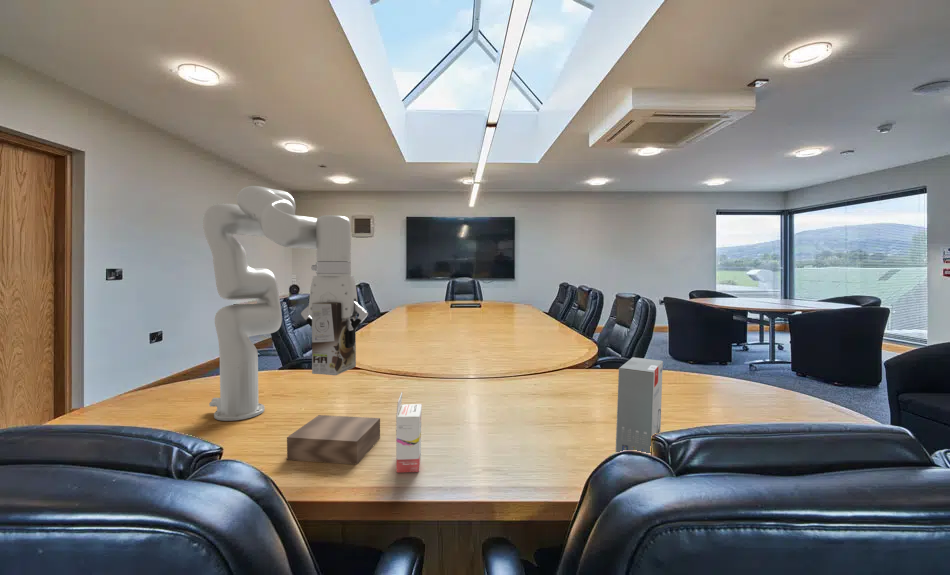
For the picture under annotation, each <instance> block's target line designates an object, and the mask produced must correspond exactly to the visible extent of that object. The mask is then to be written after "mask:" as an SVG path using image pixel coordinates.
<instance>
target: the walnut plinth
mask: <svg viewBox="0 0 950 575" xmlns="http://www.w3.org/2000/svg"><path fill="white" fill-rule="evenodd" d="M380 439H381V418H380V417H367V416H366V417H365V416H364V417H362V416H347V415H346V416H345V415H328V414H327V415H326V414H324V415H323V414H319V415H317V416H316V417H314V418H313V419H311V420H310V421H308V422H307V423H305V424H304V425H303V426H301V427H300V428H298V429H297V430H295V431H294V432H293V433H291V434H290V435H288V436H287V437H286V458H287V460H288V461H300V462H317V463H331V464H332V463H333V464H346V465H347V464H348V465H358V464H359V463H360V462H361V461H362V459H363V458H364V457H365V456H366V455H367V454H368V452H369V451H370V450H371V449H372V448H373V447H374V446H375V444H377V442H378V441H380ZM373 445H374V446H373Z"/></svg>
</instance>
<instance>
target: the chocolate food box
mask: <svg viewBox="0 0 950 575" xmlns="http://www.w3.org/2000/svg"><path fill="white" fill-rule="evenodd" d="M356 317H357V316H355V317H353V318H354V320H356V319H357V318H356ZM356 330H357V329H355V344H354V346H353V347H351V348H346V342H345V332H346V331H347V326H346V324H345V319H344V320H342V318H341V303H338V302H324V303H312V328H311V374H313V375H324V376H325V375H327V376H338V375H340V374H343V373H344V372H347V371H349V370H352V369H354V368H355V367H356V366H357V360H356V358H357V356H356V355H357V347H356V346H357V343H356V341H357V340H356V339H357V338H356V336H357V335H356V334H357V333H356V332H357V331H356Z"/></svg>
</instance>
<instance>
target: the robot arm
mask: <svg viewBox="0 0 950 575" xmlns="http://www.w3.org/2000/svg"><path fill="white" fill-rule="evenodd" d="M236 203H237V204H235V203H223V202H222V203H215V204H211V205H209V206H208V207H207V208H206V210H205V211H204V213H203V216H202V217H203V218H202V228H203V229H202V230H203V234H204V236H205V240H206V241H207V243H208V246H209V249H210V251H211V255H212V262H213V269H214V277H215V278H214V279H215V285H216V291H217V293H218V296H220V298H221V299H223V300H227V301H240V300H241V301H243V300H244V301H245V300H255V301H256V303H239V304H237V303H236V304H230V305H225V306H223V307H222V308H220V309H218V310H217V312H216V313H215V315H214V326H215V330H216V331H215V332H216V335H217V340H218V348H219V350H218V352H219V354H218V355H219V389H220V390H219V391H220V392H219V393H220V394H219V396H220V397H213V398H212V399H211V401H210V402H209V407H211V408H212V407H215V408H216V411H215V412H214V413H213V418H214V419H215V420H217V421H224V422H233V421H235V422H236V421H241V420H246V419H251V418H254V417H257V416H260V414H263V413H264V412H265V410H266V409H265V405H264V404H262V403H259V358H258V357H259V355H258V353H259V352H258V349H257V348H256V346H255V344H254V343H253V342H252V341H251V339H250V337H254V336H261V335H269V334H273V333H276V332H277V331H279V330H280V328H281V326H282V322H283V316H282V314H283V313H282V306H281V299H280V294H279V286H278V280H277V277H276V276H275V274H274V273H273V271H271V270H270V269H268V268H266V267H250V265H249V263H248V257H247V256H248V254H247V252H246V249H245V248H244V246H243V245H242V243H241V242H240V241H239V240H238V239H237V238H235V237H234V235H237V236H238V235H239V236H247V237H248V236H251V237H261V238H262V237H266V238H268V240H270V241H272V242H274V243H276V244H278V245H279V246H282V247H284V248H290V249H291V248H292V249H310V250H316V251H315V252H316V260H315V264H312V265H311V271H315V273H316V275H313V276H312V280H311V284H310V289H309V290H310V291H309V300H308V303H309V304H308V305H307V306H306V307H305V308H303V310H302V311H300V315H301V317H302V318H303V320H305V321H306V323H307V324H308V325H309V326H310V328H311V329H312V303H324V302H338V303H341V318H342V320H344V319H345V324H346V326H347V331H346V332H345V342H346V348H351V347H353V346H354V344H355V329H356V330H357V329H358V327H359V326H360V325H361V324H362V323H363V322H364V321H365V320H366V318H367V317H368V316H369V312H367V310H366V309H364V308H363V307H362V305H360V304H359V303H358V292H357V287H356V286H357V285H356V281H355V276H354V275H352V252H351V250H352V247H351V246H352V241H351V240H352V239H351V238H352V237H351V236H352V234H351V233H352V231H351V229H352V228H351V221H350V219H349V218H348V217H347V216H344V215H343V216H342V215H333V214H330V215H329V214H327V215H326V214H325V215H321V216H319V217H313V216H304V215H297V214H296V208H297V206H296V201H295V199H294V198H293V196H292V195H291V194H290V193H289V192H287V191H285V190H280V189H275V188H272V187H271V188H269V187H265V186H258V185H249V186H246V187H243V188H241V190H239V191H238V193H237V195H236ZM357 315H358V316H357ZM355 316H356V317H357V318H356V320H354V318H353V317H355Z"/></svg>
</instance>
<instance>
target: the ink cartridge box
mask: <svg viewBox="0 0 950 575" xmlns="http://www.w3.org/2000/svg"><path fill="white" fill-rule="evenodd" d="M402 400H403V391H401V393H400V396H399V397H398V401H397V406H396V415H395V416H396V417H395V420H396V421H395V422H396V423H395V425H396V429H395V430H396V431H395V432H396V433H395V436H396V437H395V438H396V442H395V443H396V445H395V446H396V453H395V454H396V463H395V464H396V465H395V466H396V471H395V472H396V473H398V474H399V473H401V474H403V473H419V472H420V466H421V464H420V463H421V456H422V414H423V413H422V412H423V411H422V410H423V409H422V408H423V405H422V403H411V404H409V403H408V404H406V403H405V404H402Z"/></svg>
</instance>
